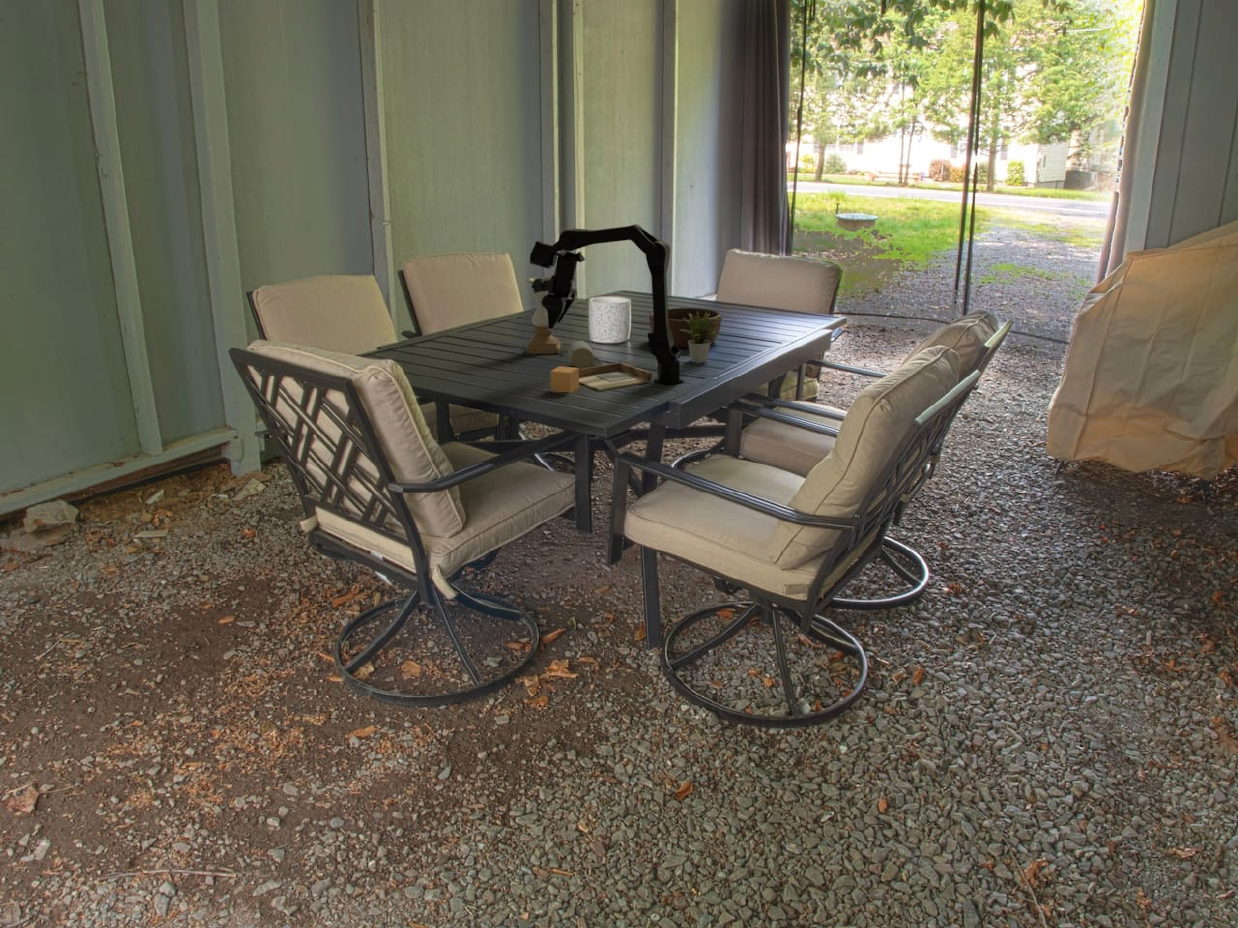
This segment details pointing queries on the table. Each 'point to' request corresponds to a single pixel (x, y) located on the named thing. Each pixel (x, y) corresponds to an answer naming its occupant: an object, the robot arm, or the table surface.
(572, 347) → the ceramic mug
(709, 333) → the house plant
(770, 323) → the table surface
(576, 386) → the cube
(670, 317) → the wooden bowl
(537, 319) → the candle holder
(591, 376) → the arena
